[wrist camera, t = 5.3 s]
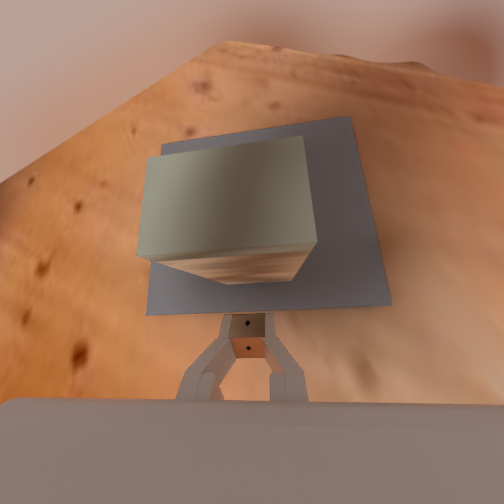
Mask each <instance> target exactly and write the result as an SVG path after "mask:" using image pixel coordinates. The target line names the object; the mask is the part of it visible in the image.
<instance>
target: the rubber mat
mask: <svg viewBox="0 0 504 504" xmlns="http://www.w3.org/2000/svg"><path fill="white" fill-rule="evenodd" d="M300 135H303V141H304V148H305V155H306V163H307V170H308V177H309V184H310V192H311V199H312V206H313V213H314V220H315V228H316V235H317V243H316V245H315V246H314V248H313V249H312V251H311V252H310V254H309V255H308V257H307V258H306V260H305V261H304V263H303V264H302V266H301V267H300V269H299V270H298V272H297V273H296V275H295V276H294V278H293V279H292V281H282V282H264V283H247V284H230V285H226V284H223V283H220V282H217V281H214V280H211V279H207V278H204V277H201V276H198V275H195V274H191V273H188V272H185V271H182V270H179V269H175V268H172V267H169V266H166V265H163V264H159V263H156V262H153V261H151V268H150V279H149V290H148V301H147V312H146V316H150V315H174V314H199V313H223V312H248V311H272V310H297V309H321V308H345V307H370V306H392V302H391V297H390V293H389V288H388V284H387V279H386V275H385V270H384V266H383V261H382V257H381V252H380V248H379V243H378V239H377V235H376V230H375V226H374V221H373V217H372V212H371V208H370V203H369V199H368V194H367V190H366V185H365V181H364V176H363V172H362V167H361V163H360V158H359V154H358V149H357V145H356V140H355V136H354V131H353V127H352V122H351V118H350V116H345V117H338V118H332V119H325V120H319V121H312V122H305V123H299V124H292V125H286V126H279V127H273V128H266V129H259V130H253V131H246V132H240V133H233V134H227V135H220V136H214V137H207V138H200V139H194V140H187V141H181V142H174V143H168V144H162V147H161V156H162V155H169V154H176V153H183V152H190V151H197V150H204V149H211V148H218V147H225V146H231V145H238V144H245V143H252V142H259V141H266V140H273V139H280V138H287V137H294V136H300Z"/></svg>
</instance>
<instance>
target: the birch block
mask: <svg viewBox="0 0 504 504" xmlns="http://www.w3.org/2000/svg"><path fill="white" fill-rule="evenodd" d="M316 243H317V235H316V228H315V220H314V213H313V206H312V199H311V192H310V184H309V177H308V170H307V163H306V155H305V148H304V141H303V135H300V136H294V137H287V138H280V139H273V140H266V141H259V142H252V143H245V144H238V145H231V146H225V147H218V148H211V149H204V150H197V151H190V152H183V153H176V154H169V155H162V156H156V157H149V158H147V165H146V174H145V183H144V192H143V201H142V210H141V219H140V228H139V237H138V246H137V255H136V256H137V257H140V258H144V259H147V260H150V261H153V262H156V263H159V264H163V265H166V266H169V267H172V268H175V269H179V270H182V271H185V272H188V273H191V274H195V275H198V276H201V277H204V278H207V279H211V280H214V281H217V282H220V283H223V284H226V285H230V284H247V283H264V282H282V281H292V279H293V278H294V276H295V275H296V273H297V272H298V270H299V269H300V267H301V266H302V264H303V263H304V261H305V260H306V258H307V257H308V255H309V254H310V252H311V251H312V249H313V248H314V246H315V245H316Z"/></svg>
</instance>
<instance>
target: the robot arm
mask: <svg viewBox="0 0 504 504" xmlns="http://www.w3.org/2000/svg"><path fill="white" fill-rule="evenodd" d="M236 358H265V359H266V361H267V363H268V364H269V366H270V368H271V370H272V373H271V375H270V401H244V400H224V397H223V394H222V392H221V389H220V387H219V385H220V383H221V382H222V380H223V379H224V377H225V376H226V374H227V373H228V371H229V370H230V368H231V366H232V365H233V363H234V362H235V360H236ZM0 504H504V405H490V404H428V403H364V402H309V401H308V395H307V389H306V383H305V377H304V372H303V370H302V369H301V368H300V366H299V365H298V364H297V362H296V361H295V360H294V358H293V357H292V356H291V354H290V353H289V352H288V350H287V349H286V348H285V346H284V345H283V344H282V342H281V341H280V340H279V338H278V337H276V329H275V318H274V313H257V314H228V315H224V317H223V321H222V325H221V329H220V333H219V337H218V339H215V340H214V341H213V342H212V343H211V344H210V345H209V347H208V348H207V349H206V350H205V351H204V352H203V353H202V354H201V355H200V356H199V357H198V358H197V359H196V360H195V362H194V363H193V364H192V365H191V366H190V367H189V368H188V369H187V370H186V371H185V373H184V376H183V379H182V382H181V385H180V387H179V390H178V393H177V396H176V399H119V398H57V397H15V398H12V399H10V400H8V401H6V402H4V403H2V404H0Z"/></svg>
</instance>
